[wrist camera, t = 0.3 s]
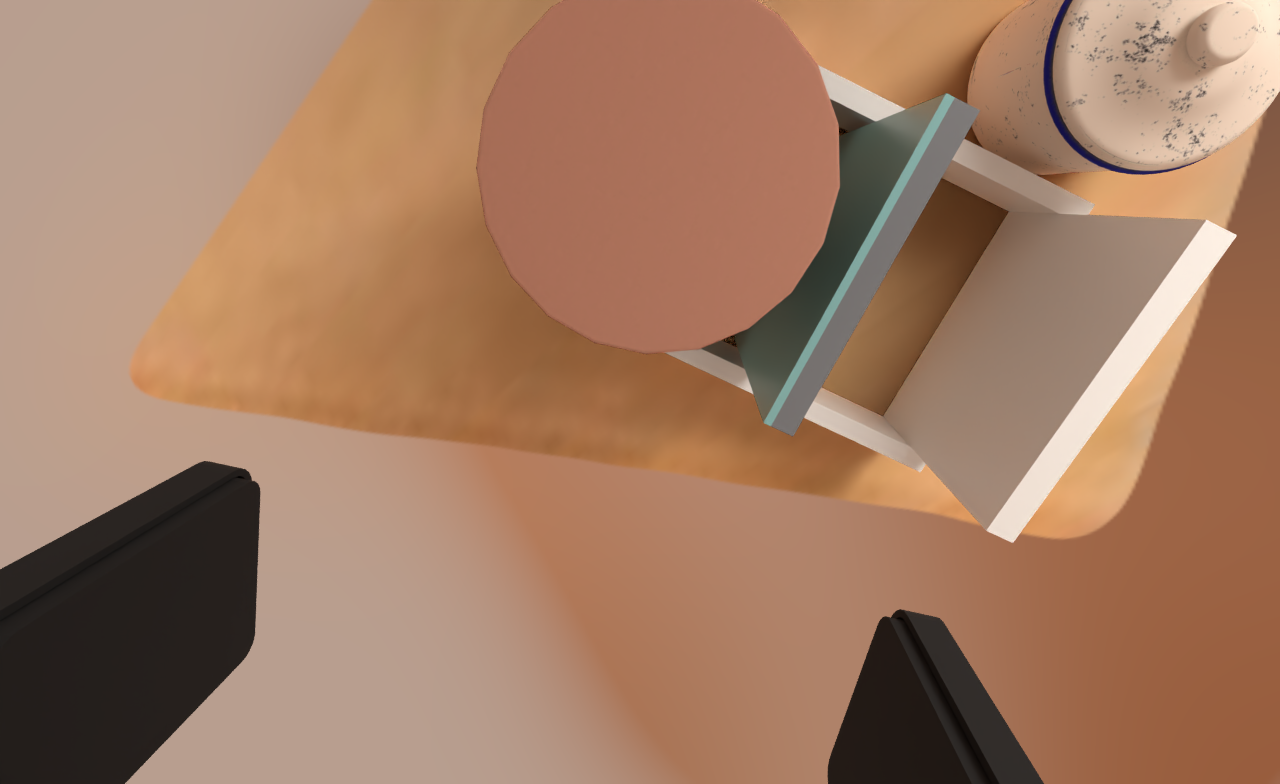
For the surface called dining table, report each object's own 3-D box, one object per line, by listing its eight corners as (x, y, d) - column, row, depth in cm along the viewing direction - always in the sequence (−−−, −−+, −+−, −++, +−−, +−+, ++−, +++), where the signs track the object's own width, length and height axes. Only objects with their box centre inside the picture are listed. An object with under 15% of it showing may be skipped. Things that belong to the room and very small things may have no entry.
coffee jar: (603, 304, 38) (537, 391, 21) (549, 114, 35) (422, 35, 18) (785, 256, 37) (872, 308, 20) (743, 55, 34) (802, -92, 17)
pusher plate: (837, 136, 35) (946, 93, 20) (858, 146, 35) (980, 110, 20) (734, 337, 38) (763, 422, 24) (752, 346, 38) (792, 436, 24)
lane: (749, 58, 34) (790, -33, 21) (1039, 203, 35) (1257, 207, 22) (630, 315, 38) (600, 379, 25) (891, 438, 39) (998, 562, 26)
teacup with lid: (1044, 215, 35) (1210, 223, 24) (921, 104, 34) (1036, 58, 23) (1234, 17, 32) (1527, -79, 21) (1106, -114, 31) (1343, -288, 20)
